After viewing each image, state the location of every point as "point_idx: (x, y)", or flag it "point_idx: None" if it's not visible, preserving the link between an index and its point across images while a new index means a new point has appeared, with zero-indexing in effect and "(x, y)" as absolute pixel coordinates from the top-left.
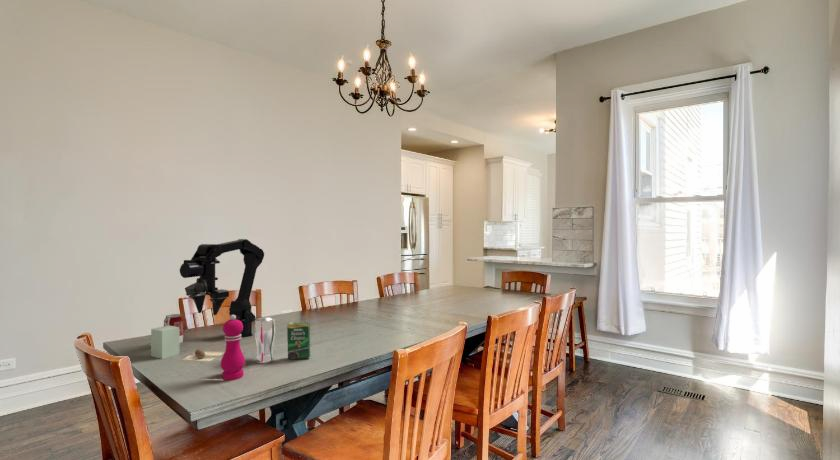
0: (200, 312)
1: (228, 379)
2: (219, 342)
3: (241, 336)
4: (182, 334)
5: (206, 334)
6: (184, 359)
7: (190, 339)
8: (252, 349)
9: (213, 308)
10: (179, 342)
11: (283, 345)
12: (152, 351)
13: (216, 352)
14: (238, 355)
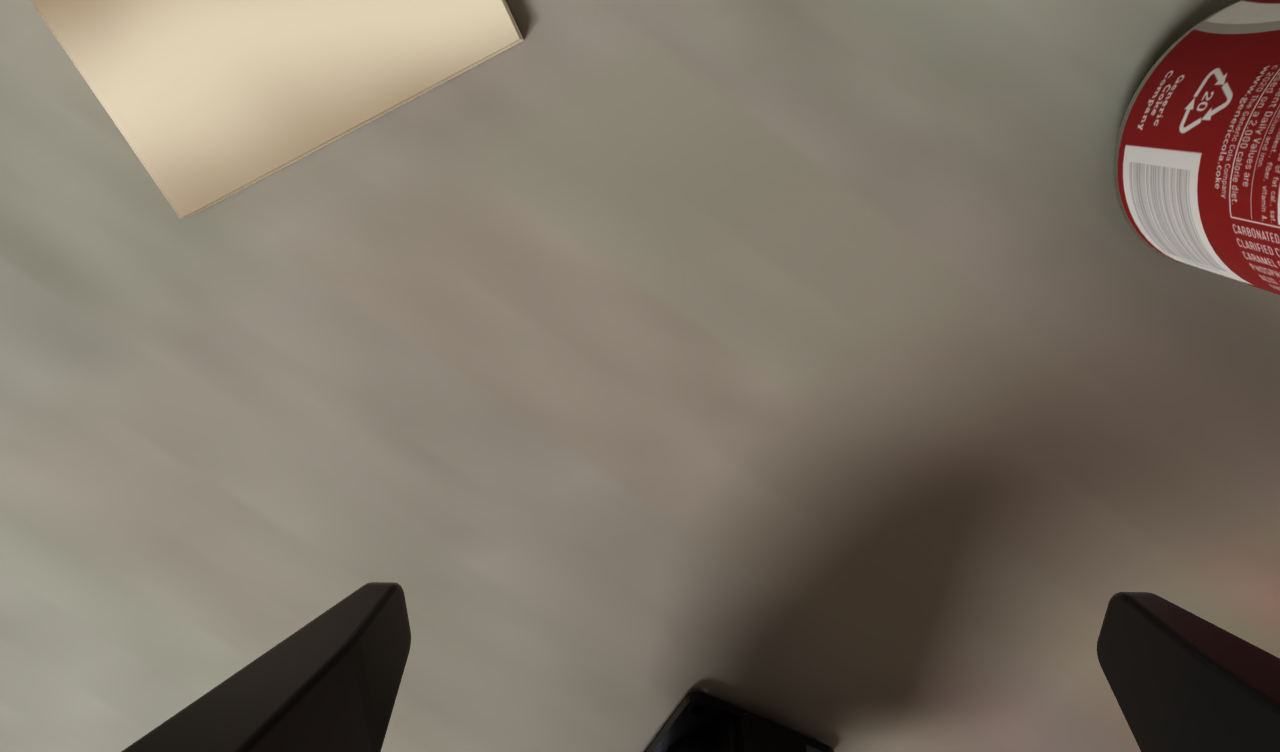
0: (1104, 637)
1: None
2: (716, 492)
3: (672, 722)
4: (1216, 244)
5: None
6: None
7: (1200, 424)
8: (122, 467)
9: (206, 737)
10: (1127, 153)
11: (32, 685)
12: None
13: (245, 133)
14: None
